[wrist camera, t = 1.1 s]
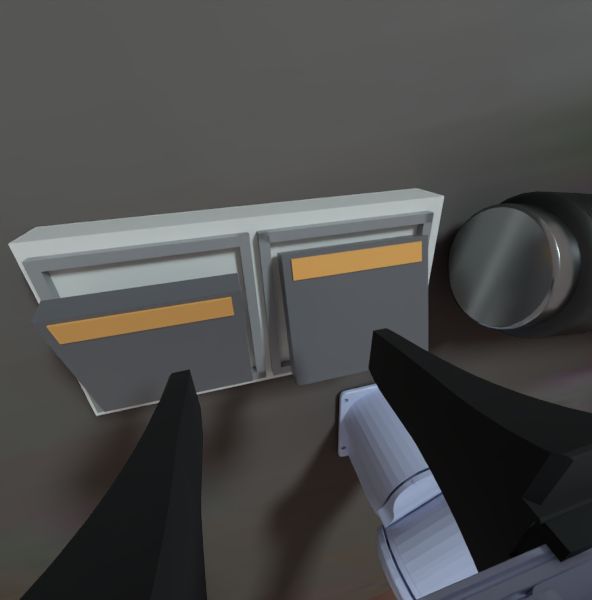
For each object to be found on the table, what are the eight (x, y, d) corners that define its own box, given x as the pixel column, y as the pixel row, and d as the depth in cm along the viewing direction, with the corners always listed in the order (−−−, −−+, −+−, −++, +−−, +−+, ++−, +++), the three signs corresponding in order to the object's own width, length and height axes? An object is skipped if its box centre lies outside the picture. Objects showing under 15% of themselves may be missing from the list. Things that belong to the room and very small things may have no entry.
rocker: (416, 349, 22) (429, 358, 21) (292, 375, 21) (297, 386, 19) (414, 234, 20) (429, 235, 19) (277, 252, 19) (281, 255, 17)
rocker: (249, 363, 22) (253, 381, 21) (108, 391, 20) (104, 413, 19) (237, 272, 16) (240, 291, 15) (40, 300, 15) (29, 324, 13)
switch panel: (397, 328, 28) (424, 355, 25) (107, 384, 24) (91, 428, 20) (416, 188, 22) (454, 199, 19) (36, 226, 18) (-4, 250, 14)
